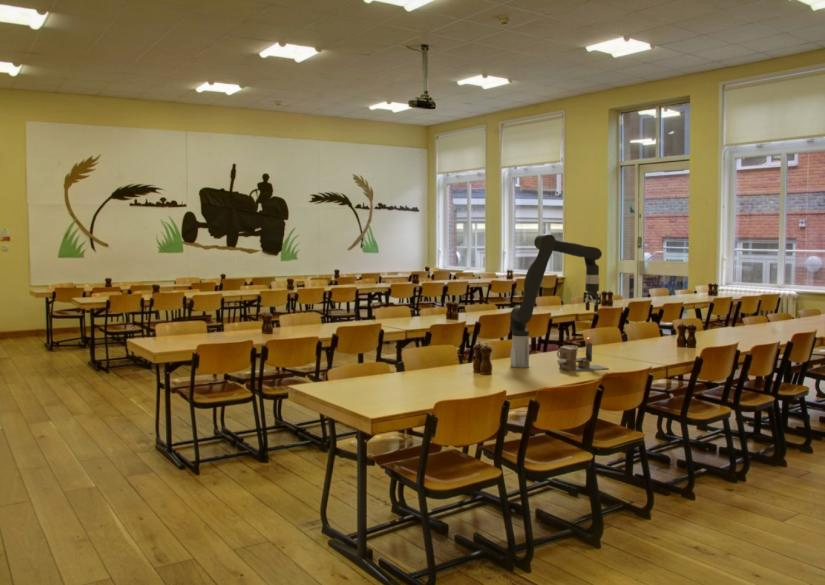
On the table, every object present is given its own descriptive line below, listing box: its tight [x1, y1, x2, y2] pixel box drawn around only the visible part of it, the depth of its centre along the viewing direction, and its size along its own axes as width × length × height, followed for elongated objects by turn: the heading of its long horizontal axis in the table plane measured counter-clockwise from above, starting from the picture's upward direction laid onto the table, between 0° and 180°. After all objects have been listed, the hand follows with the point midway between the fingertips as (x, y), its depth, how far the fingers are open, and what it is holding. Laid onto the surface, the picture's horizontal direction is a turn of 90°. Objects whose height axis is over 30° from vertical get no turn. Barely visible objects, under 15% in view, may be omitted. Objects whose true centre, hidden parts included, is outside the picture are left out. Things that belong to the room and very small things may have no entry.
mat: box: [558, 364, 610, 373], centre depth 391 cm, size 24×11×1 cm, turn 109°
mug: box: [556, 344, 579, 359], centre depth 408 cm, size 8×13×10 cm, turn 53°
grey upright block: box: [559, 345, 577, 373], centre depth 388 cm, size 4×10×12 cm, turn 19°
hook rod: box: [557, 337, 593, 365], centre depth 389 cm, size 21×4×13 cm, turn 108°
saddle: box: [577, 360, 591, 369], centre depth 391 cm, size 4×5×5 cm
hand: (591, 311), depth 411 cm, fingers open, 8 cm apart
